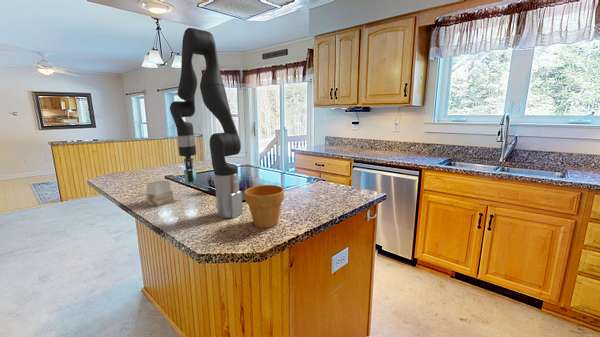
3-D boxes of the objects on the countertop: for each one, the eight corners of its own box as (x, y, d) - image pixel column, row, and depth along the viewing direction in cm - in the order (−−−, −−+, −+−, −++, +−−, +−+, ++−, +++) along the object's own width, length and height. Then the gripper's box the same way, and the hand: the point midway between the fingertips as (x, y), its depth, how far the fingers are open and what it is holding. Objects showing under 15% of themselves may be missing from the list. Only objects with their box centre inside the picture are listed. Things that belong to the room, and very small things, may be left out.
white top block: (170, 191, 132) (169, 181, 131) (156, 195, 126) (155, 185, 125) (161, 189, 135) (160, 179, 134) (147, 193, 130) (146, 183, 129)
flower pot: (238, 226, 103) (236, 192, 100) (262, 213, 115) (261, 183, 112) (269, 234, 96) (268, 198, 93) (292, 220, 108) (291, 187, 105)
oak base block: (173, 201, 133) (172, 191, 132) (158, 206, 127) (156, 196, 125) (163, 199, 137) (161, 189, 136) (147, 204, 130) (146, 193, 129)
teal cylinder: (198, 181, 136) (197, 169, 135) (190, 184, 131) (188, 171, 130) (191, 180, 138) (190, 168, 137) (183, 183, 134) (181, 170, 133)
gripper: (195, 146, 126) (199, 182, 129) (194, 143, 139) (198, 176, 143) (177, 147, 123) (182, 185, 127) (178, 144, 137) (182, 178, 140)
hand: (190, 180), depth 135 cm, fingers closed on teal cylinder, 5 cm apart
